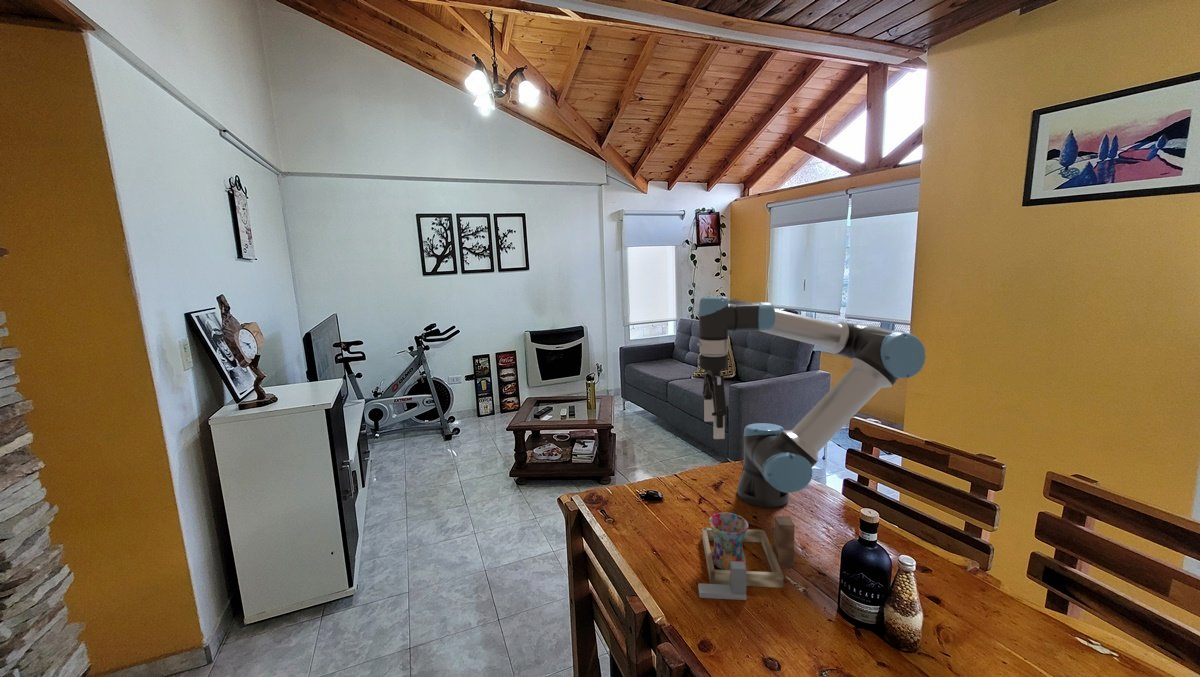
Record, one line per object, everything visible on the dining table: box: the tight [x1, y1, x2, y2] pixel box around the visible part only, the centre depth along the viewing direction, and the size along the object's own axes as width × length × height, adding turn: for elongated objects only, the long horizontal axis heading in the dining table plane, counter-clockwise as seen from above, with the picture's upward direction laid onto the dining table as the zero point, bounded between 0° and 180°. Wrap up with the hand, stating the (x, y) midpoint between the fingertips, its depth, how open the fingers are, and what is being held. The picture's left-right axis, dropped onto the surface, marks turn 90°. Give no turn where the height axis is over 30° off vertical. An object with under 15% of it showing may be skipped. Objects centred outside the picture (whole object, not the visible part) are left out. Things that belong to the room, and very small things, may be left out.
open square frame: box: [701, 515, 796, 588], centre depth 110 cm, size 20×18×11 cm
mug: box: [708, 512, 749, 570], centre depth 111 cm, size 12×9×11 cm
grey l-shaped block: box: [697, 561, 748, 601], centre depth 99 cm, size 10×3×7 cm, turn 83°
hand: (713, 429), depth 124 cm, fingers open, 13 cm apart
